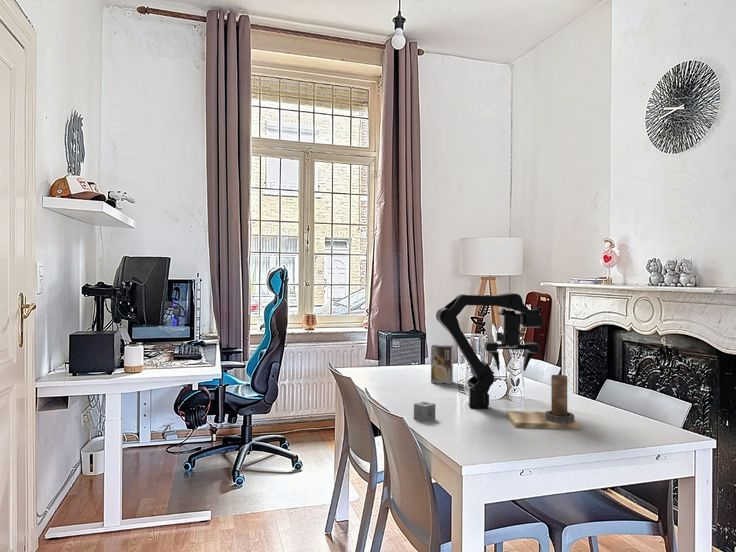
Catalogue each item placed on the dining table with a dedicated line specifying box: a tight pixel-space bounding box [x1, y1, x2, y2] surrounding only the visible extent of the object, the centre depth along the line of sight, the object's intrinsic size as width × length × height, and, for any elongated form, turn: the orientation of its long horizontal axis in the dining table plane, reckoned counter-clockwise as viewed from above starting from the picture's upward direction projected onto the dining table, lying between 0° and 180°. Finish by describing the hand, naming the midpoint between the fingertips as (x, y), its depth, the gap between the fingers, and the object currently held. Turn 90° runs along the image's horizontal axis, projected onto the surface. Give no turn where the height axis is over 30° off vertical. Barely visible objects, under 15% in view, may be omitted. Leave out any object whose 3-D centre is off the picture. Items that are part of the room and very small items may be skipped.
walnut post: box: [550, 374, 568, 417], centre depth 168 cm, size 5×5×14 cm
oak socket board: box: [505, 410, 581, 430], centre depth 171 cm, size 20×14×4 cm
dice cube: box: [413, 401, 436, 423], centre depth 173 cm, size 5×5×5 cm
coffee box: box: [430, 344, 454, 385], centre depth 231 cm, size 9×6×16 cm
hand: (511, 370), depth 191 cm, fingers open, 9 cm apart
